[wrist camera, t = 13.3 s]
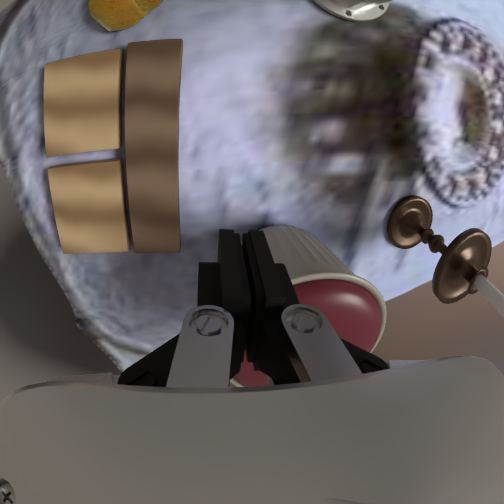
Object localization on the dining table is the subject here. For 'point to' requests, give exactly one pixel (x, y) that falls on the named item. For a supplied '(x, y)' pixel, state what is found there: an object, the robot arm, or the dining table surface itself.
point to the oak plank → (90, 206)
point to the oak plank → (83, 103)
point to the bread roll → (120, 12)
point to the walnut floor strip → (153, 143)
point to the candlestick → (446, 253)
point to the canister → (323, 293)
